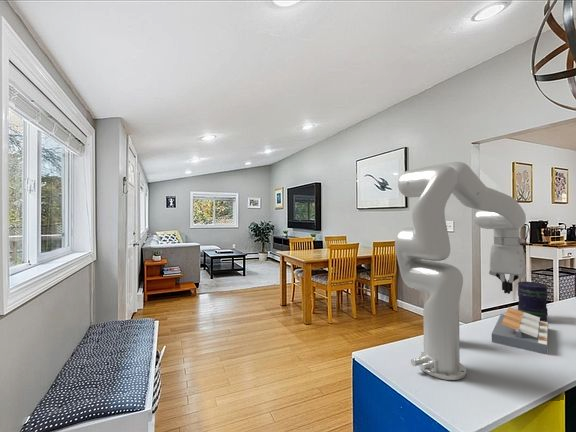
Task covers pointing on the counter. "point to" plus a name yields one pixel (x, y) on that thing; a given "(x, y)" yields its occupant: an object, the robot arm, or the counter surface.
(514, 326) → the switch
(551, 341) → the counter surface
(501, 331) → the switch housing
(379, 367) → the counter surface
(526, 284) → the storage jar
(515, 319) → the switch
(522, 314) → the switch
